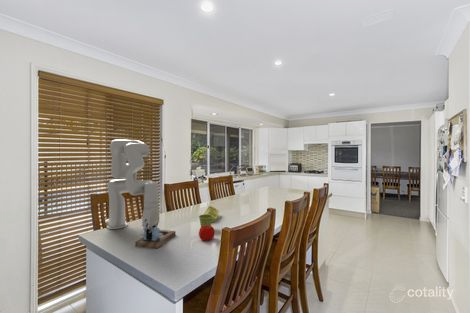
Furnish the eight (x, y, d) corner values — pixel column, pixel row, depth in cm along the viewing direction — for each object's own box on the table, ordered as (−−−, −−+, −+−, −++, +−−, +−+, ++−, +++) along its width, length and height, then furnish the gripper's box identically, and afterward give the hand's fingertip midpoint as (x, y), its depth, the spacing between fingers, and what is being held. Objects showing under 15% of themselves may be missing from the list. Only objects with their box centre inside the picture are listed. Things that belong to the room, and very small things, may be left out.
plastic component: (216, 219, 166) (203, 213, 166) (211, 228, 167) (199, 222, 167) (219, 210, 186) (208, 204, 186) (215, 218, 187) (204, 212, 187)
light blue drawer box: (140, 239, 128) (140, 227, 128) (144, 236, 132) (144, 225, 131) (158, 240, 125) (158, 229, 125) (162, 238, 129) (162, 226, 129)
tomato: (206, 235, 142) (206, 223, 142) (217, 239, 136) (217, 226, 136) (195, 240, 134) (195, 227, 134) (205, 243, 129) (205, 230, 129)
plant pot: (215, 227, 156) (215, 214, 156) (210, 232, 147) (210, 218, 146) (201, 226, 158) (201, 213, 158) (196, 231, 149) (196, 217, 148)
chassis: (135, 246, 125) (135, 241, 125) (155, 233, 145) (155, 229, 145) (157, 248, 122) (157, 243, 122) (175, 235, 142) (175, 230, 142)
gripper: (153, 201, 137) (153, 232, 137) (135, 208, 121) (136, 243, 121) (165, 201, 135) (165, 233, 136) (148, 209, 119) (148, 244, 120)
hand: (151, 237), depth 128 cm, fingers closed on light blue drawer box, 3 cm apart
